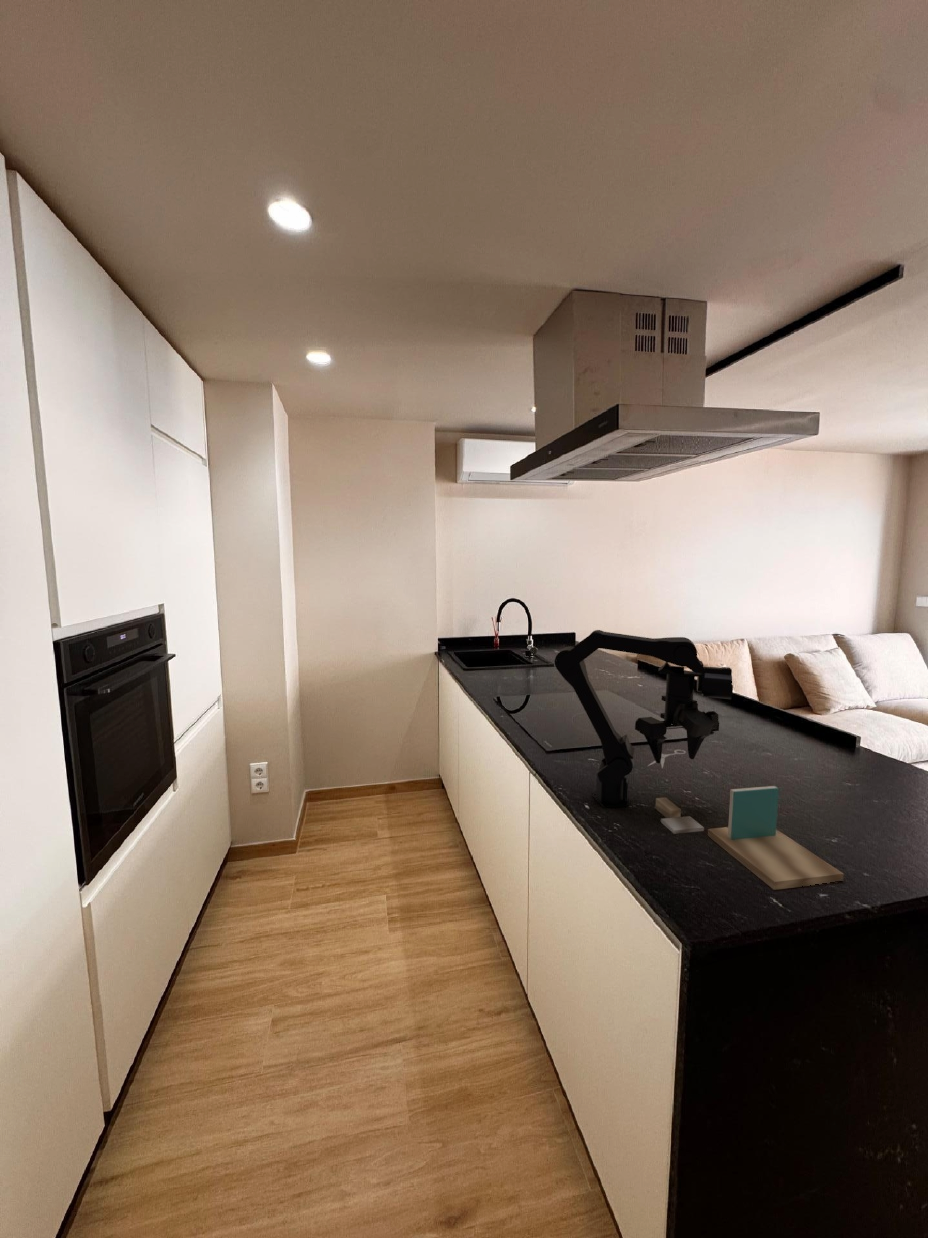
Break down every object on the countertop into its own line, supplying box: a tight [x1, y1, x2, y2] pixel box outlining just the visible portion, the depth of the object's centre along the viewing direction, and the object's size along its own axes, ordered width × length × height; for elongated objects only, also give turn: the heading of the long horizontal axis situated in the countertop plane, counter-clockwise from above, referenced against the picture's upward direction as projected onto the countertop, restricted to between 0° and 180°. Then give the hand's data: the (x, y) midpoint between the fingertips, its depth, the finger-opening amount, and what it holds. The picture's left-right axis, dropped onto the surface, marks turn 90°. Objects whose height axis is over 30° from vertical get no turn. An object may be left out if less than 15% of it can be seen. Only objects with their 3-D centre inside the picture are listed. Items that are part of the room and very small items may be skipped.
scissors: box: [647, 749, 687, 769], centre depth 149 cm, size 11×1×20 cm
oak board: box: [707, 826, 844, 891], centre depth 98 cm, size 14×18×2 cm
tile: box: [727, 785, 780, 840], centre depth 102 cm, size 10×1×10 cm, turn 100°
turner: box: [655, 796, 705, 835], centre depth 112 cm, size 7×11×2 cm, turn 10°
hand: (674, 760), depth 115 cm, fingers open, 9 cm apart
